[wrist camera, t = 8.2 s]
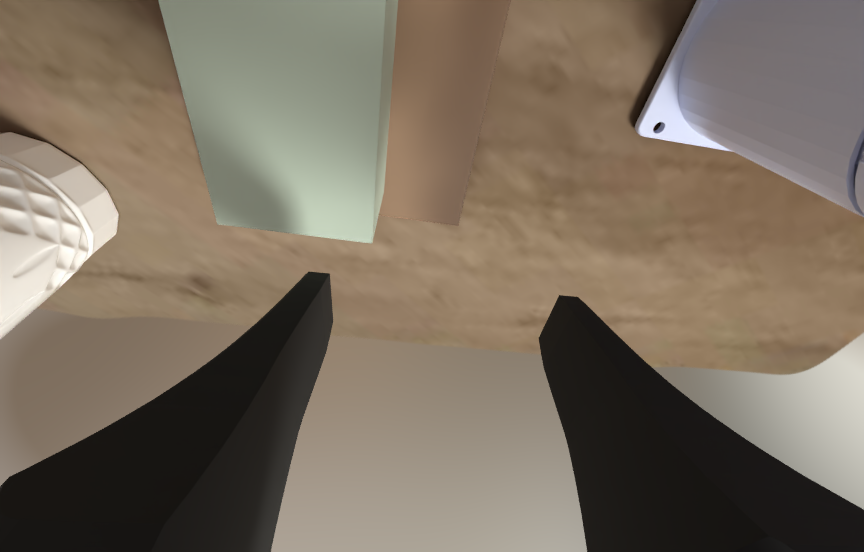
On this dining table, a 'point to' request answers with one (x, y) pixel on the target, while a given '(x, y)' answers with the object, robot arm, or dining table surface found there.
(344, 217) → the pale green rectangular block
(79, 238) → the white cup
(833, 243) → the dining table surface
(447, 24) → the peg base
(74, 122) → the dining table surface
